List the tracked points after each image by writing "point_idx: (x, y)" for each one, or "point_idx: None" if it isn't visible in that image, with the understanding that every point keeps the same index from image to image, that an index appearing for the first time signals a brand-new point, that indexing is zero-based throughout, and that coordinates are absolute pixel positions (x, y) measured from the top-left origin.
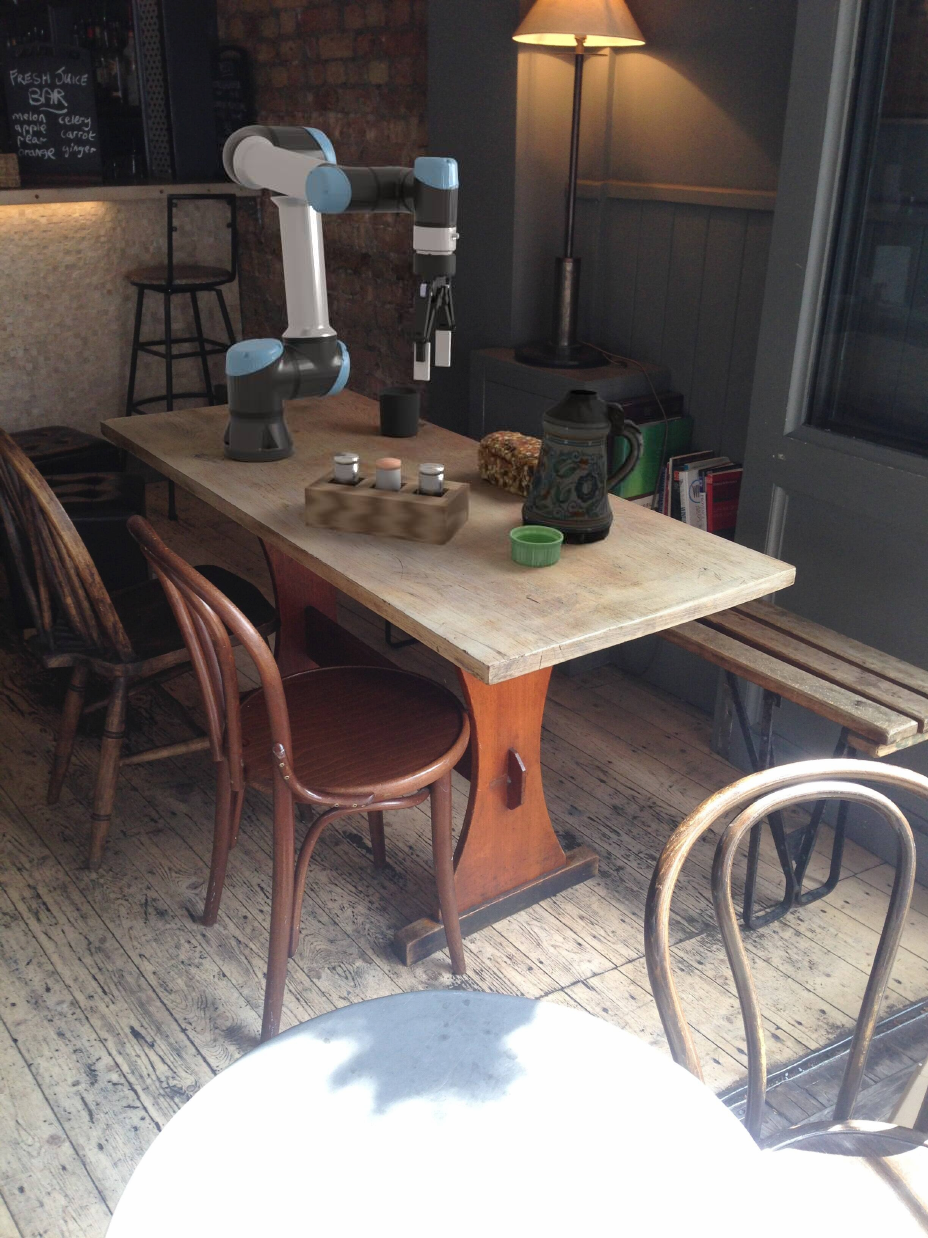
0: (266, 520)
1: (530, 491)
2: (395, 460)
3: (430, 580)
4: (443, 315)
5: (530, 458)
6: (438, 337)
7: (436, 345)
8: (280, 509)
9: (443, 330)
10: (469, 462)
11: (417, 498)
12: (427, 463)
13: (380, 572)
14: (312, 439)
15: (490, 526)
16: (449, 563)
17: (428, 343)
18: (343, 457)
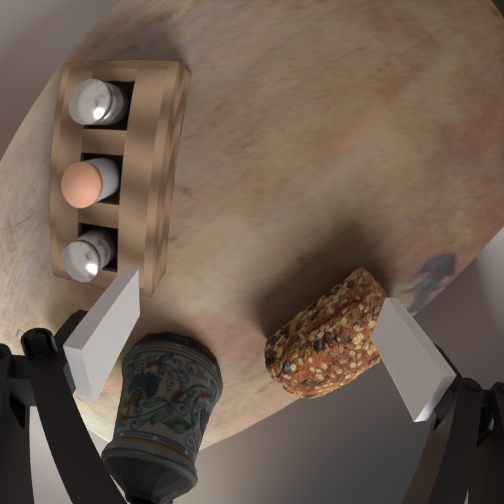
0: (103, 22)
1: (148, 366)
2: (86, 196)
3: (7, 255)
4: (419, 473)
5: (279, 368)
6: (424, 367)
7: (413, 340)
8: (148, 17)
9: (441, 397)
10: (428, 242)
11: (64, 234)
12: (90, 254)
13: (4, 206)
14: (477, 25)
15: (153, 298)
16: (40, 266)
17: (80, 396)
18: (78, 100)
